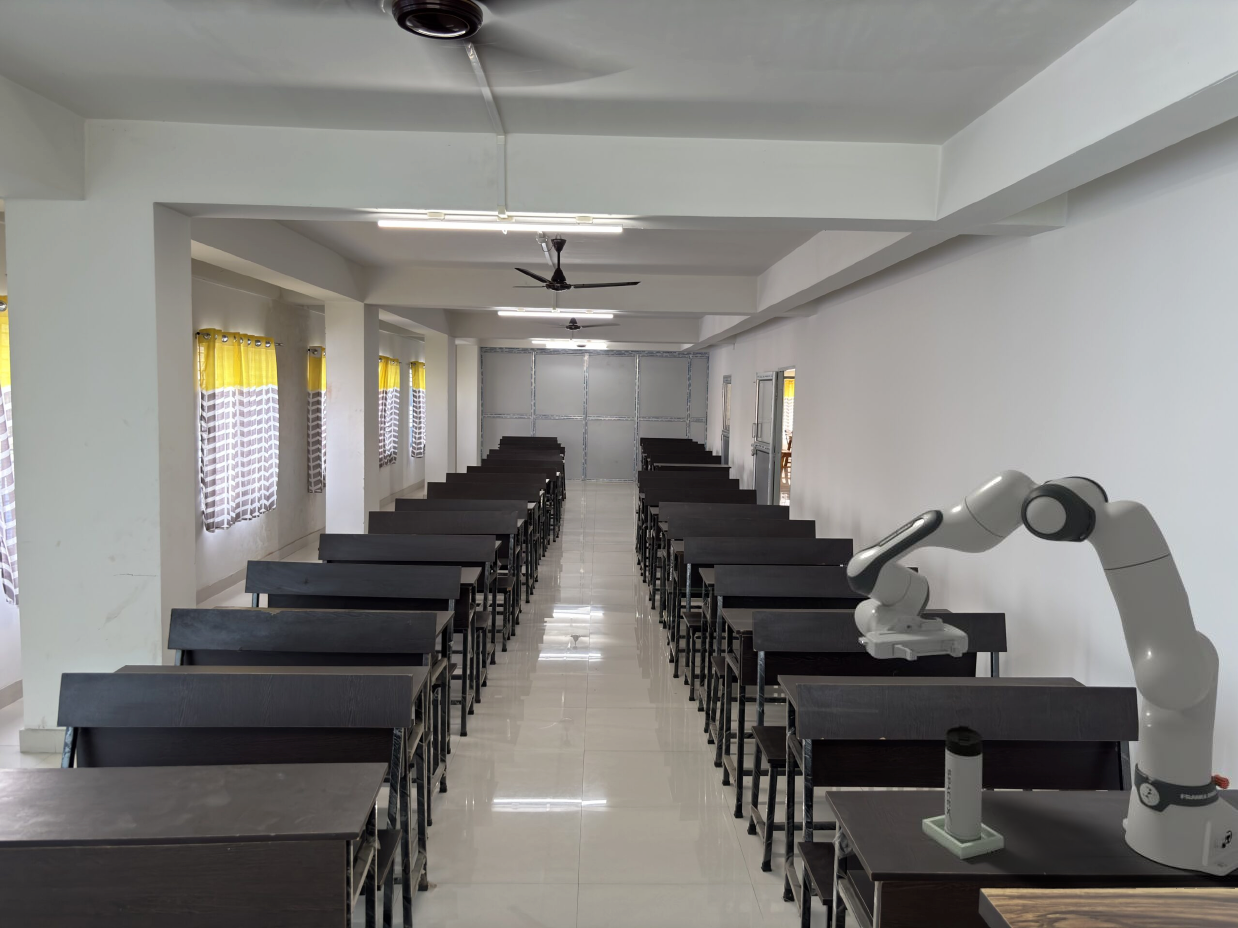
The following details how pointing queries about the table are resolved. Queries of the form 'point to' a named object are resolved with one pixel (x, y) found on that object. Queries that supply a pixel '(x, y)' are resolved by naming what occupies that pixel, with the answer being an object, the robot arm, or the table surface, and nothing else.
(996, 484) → the robot arm
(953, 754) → the travel mug
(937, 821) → the tray
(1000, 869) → the table surface
